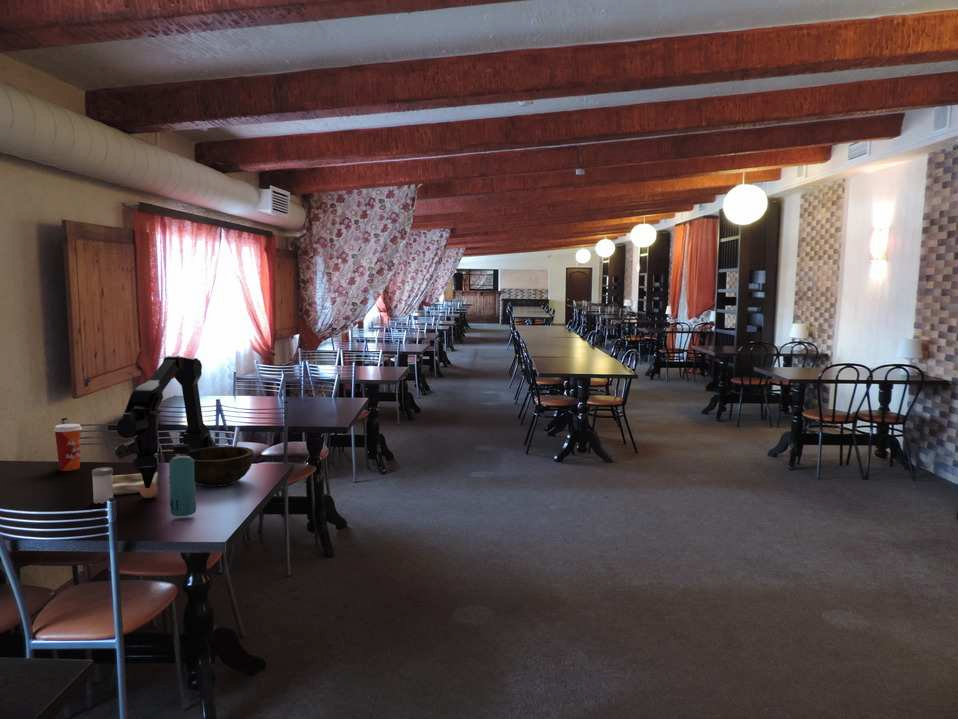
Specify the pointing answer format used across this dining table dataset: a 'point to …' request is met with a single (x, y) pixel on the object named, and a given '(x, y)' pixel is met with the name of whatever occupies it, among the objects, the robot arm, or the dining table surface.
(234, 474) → the bowl
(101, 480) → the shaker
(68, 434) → the coffee cup
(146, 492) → the ball
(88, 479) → the dining table surface
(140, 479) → the tray
